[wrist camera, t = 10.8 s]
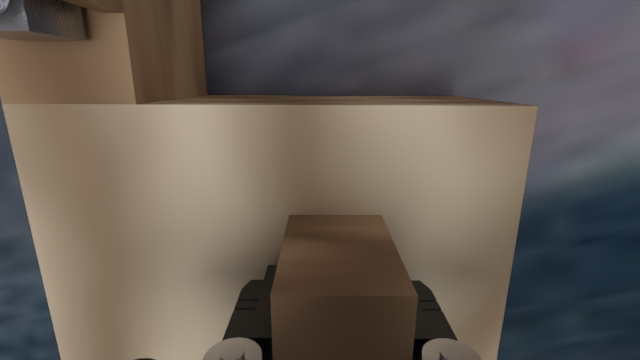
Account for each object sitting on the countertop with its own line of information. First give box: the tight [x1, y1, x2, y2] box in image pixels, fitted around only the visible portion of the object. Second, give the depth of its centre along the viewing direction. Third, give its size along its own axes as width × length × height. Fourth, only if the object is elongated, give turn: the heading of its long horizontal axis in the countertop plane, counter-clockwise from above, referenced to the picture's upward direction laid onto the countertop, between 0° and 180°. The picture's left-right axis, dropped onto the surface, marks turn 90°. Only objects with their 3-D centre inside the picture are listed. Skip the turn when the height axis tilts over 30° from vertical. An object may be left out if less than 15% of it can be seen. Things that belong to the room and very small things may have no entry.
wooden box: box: [0, 0, 518, 104], centre depth 13 cm, size 16×18×10 cm
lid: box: [2, 102, 538, 360], centre depth 11 cm, size 16×12×6 cm
